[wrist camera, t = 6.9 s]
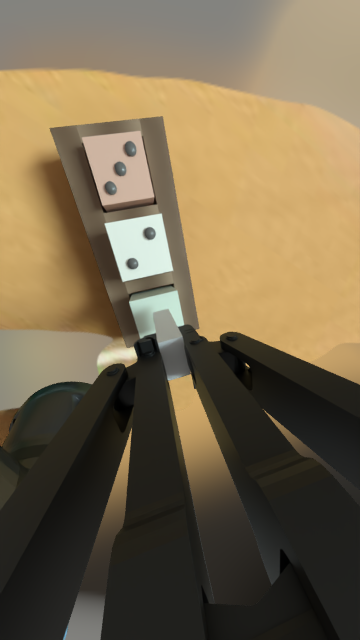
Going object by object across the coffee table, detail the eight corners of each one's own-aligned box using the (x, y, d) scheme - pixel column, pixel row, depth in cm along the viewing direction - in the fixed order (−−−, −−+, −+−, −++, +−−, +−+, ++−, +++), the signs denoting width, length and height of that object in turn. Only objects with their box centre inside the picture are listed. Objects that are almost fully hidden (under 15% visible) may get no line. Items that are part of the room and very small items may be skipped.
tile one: (142, 329, 23) (142, 346, 18) (132, 293, 22) (128, 302, 17) (177, 320, 24) (186, 334, 19) (170, 284, 22) (177, 290, 17)
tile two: (127, 277, 21) (122, 282, 16) (114, 233, 19) (103, 222, 14) (166, 269, 21) (173, 270, 17) (157, 225, 20) (161, 212, 15)
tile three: (111, 218, 21) (102, 204, 16) (97, 168, 19) (80, 135, 14) (152, 211, 21) (154, 196, 16) (141, 162, 20) (140, 129, 15)
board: (129, 336, 26) (126, 348, 22) (68, 155, 18) (49, 128, 15) (191, 319, 27) (199, 328, 23) (159, 144, 20) (162, 116, 16)
